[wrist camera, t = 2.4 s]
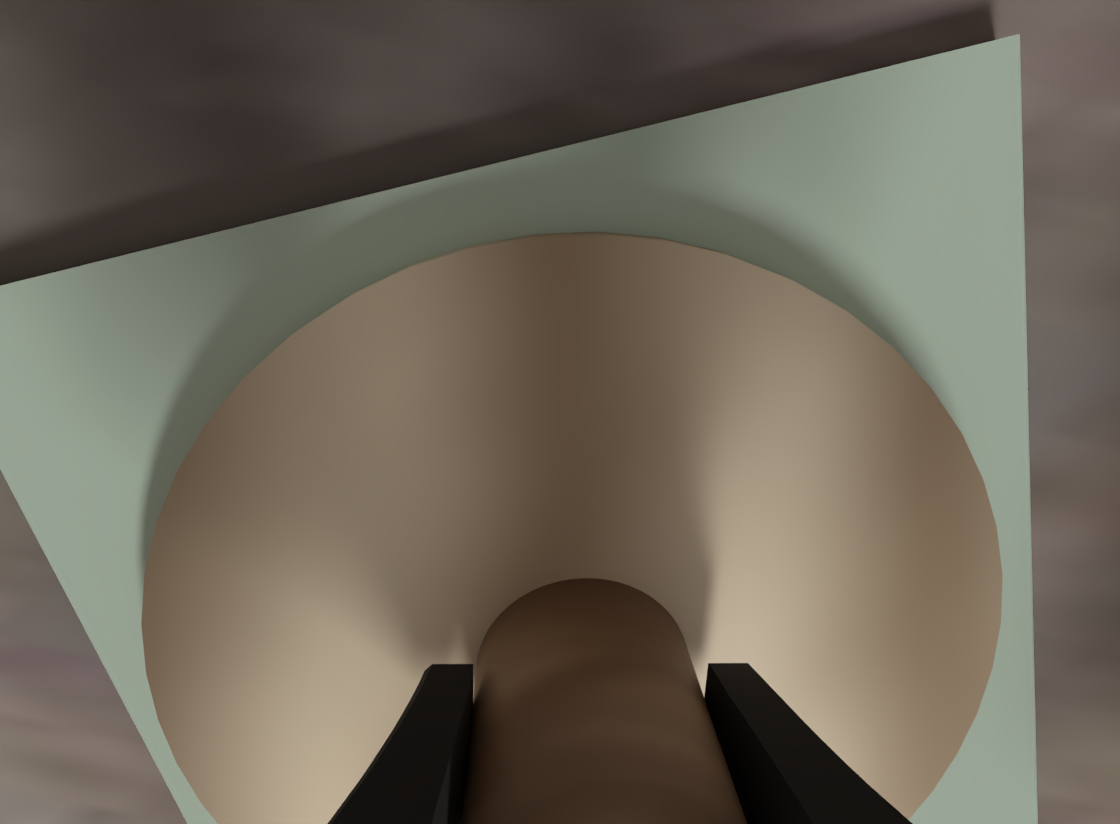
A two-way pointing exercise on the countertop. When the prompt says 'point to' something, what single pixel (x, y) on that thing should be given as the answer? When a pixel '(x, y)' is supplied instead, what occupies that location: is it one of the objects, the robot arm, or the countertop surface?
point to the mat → (565, 207)
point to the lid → (570, 540)
